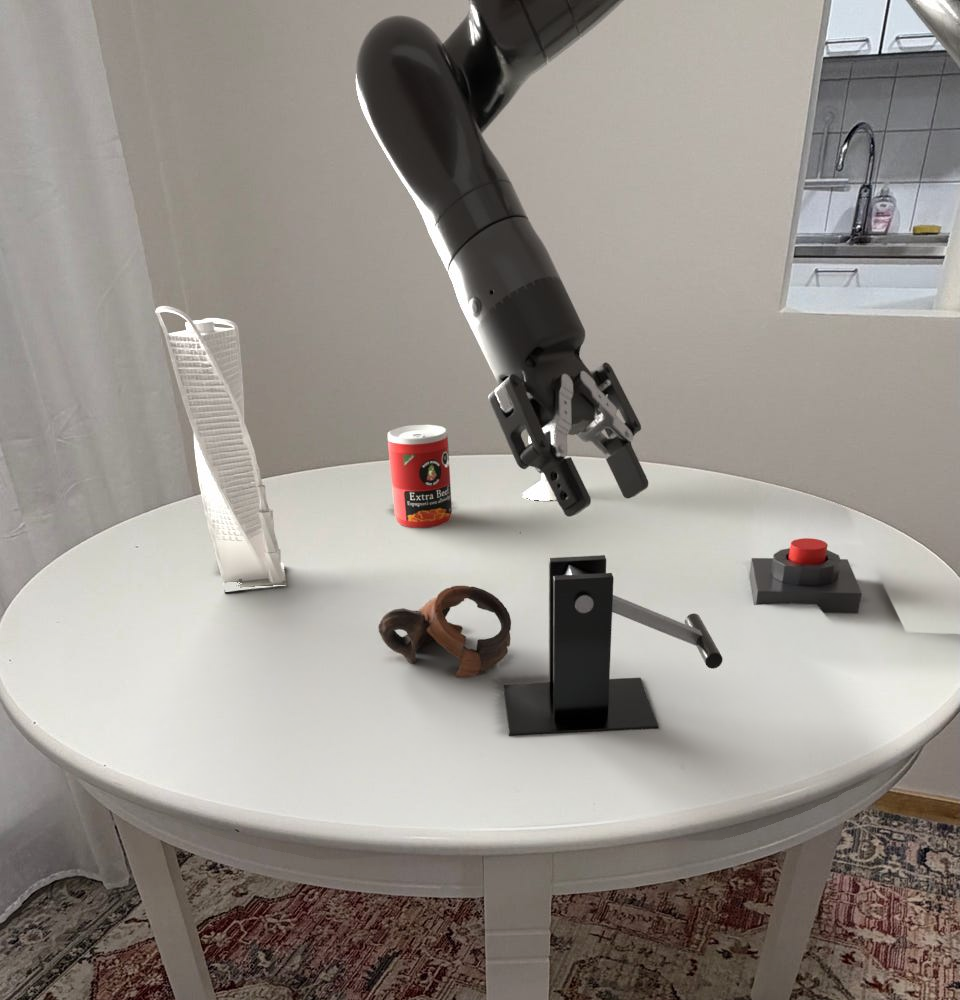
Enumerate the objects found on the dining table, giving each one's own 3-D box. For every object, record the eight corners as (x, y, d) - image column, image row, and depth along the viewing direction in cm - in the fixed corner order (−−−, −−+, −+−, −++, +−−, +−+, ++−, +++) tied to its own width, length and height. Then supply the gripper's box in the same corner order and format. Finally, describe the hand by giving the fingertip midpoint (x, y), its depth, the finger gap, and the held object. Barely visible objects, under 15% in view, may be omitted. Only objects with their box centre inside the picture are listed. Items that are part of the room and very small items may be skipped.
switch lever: (692, 636, 80) (706, 610, 79) (713, 677, 74) (729, 650, 73) (552, 579, 77) (565, 552, 76) (561, 617, 71) (575, 588, 69)
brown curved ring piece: (481, 639, 95) (509, 579, 88) (498, 715, 91) (529, 658, 84) (364, 628, 91) (384, 564, 84) (376, 707, 86) (398, 646, 80)
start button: (822, 555, 99) (825, 538, 98) (826, 567, 96) (829, 549, 95) (786, 554, 99) (789, 537, 98) (789, 566, 96) (792, 549, 95)
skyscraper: (211, 594, 107) (150, 311, 91) (212, 571, 114) (156, 302, 97) (286, 586, 109) (239, 304, 92) (283, 563, 115) (239, 296, 99)
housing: (844, 579, 103) (851, 542, 101) (858, 614, 95) (865, 575, 93) (749, 577, 105) (753, 541, 102) (754, 612, 97) (760, 573, 94)
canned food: (407, 532, 123) (399, 441, 116) (386, 516, 129) (378, 429, 122) (462, 522, 125) (457, 433, 119) (439, 507, 131) (433, 421, 125)
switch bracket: (639, 689, 84) (648, 544, 76) (658, 739, 76) (669, 584, 69) (503, 696, 84) (499, 551, 76) (509, 746, 76) (504, 592, 69)
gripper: (490, 273, 65) (596, 492, 67) (602, 271, 75) (691, 463, 77) (425, 342, 71) (524, 542, 73) (537, 332, 80) (622, 510, 82)
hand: (610, 501), depth 75 cm, fingers open, 8 cm apart
